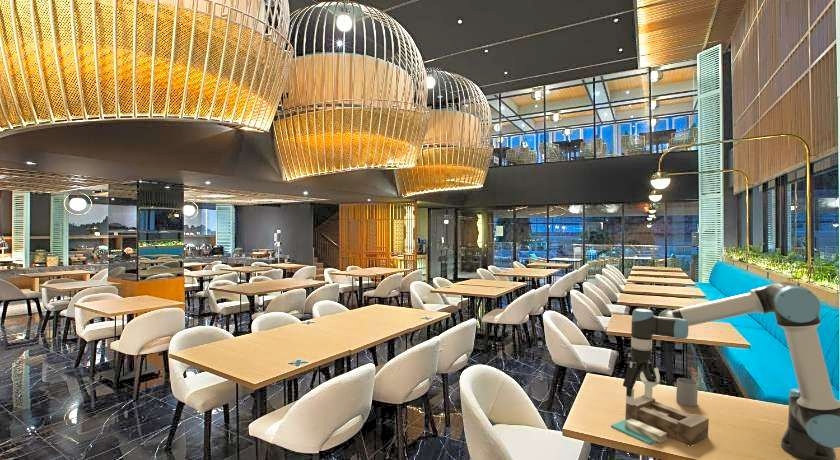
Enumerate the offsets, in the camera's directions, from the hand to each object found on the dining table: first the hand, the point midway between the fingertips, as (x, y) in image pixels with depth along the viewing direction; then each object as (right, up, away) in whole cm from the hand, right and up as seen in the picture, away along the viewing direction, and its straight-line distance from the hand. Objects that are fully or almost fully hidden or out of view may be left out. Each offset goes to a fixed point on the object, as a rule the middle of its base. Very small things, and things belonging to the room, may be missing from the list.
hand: (639, 400), depth 173 cm
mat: (0, -13, 0) cm, 13 cm away
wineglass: (+18, -13, +27) cm, 35 cm away
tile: (+1, -12, -2) cm, 12 cm away
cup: (+38, -13, +30) cm, 50 cm away
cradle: (+13, -13, +4) cm, 19 cm away
